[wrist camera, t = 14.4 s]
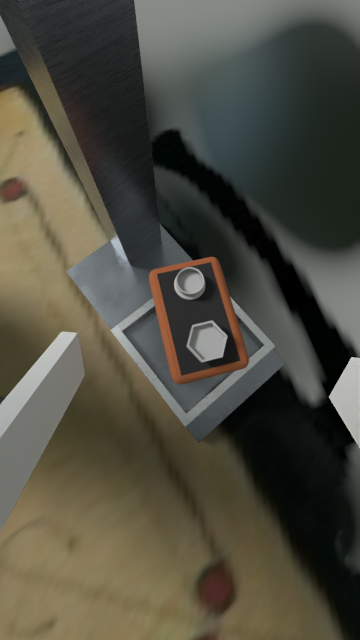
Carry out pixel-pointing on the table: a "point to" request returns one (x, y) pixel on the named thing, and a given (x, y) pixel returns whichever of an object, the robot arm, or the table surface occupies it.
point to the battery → (197, 320)
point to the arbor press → (122, 189)
